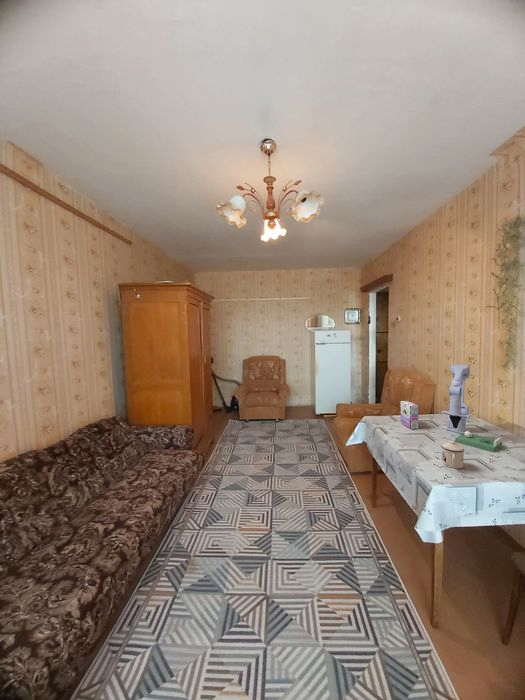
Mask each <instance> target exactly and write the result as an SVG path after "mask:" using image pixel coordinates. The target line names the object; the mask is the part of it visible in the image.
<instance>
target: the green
mask: <svg viewBox="0 0 525 700" xmlns="http://www.w3.org/2000/svg"><path fill="white" fill-rule="evenodd" d="M454 442H455V443H456V444H459V445H460V444H462V445H464V446H469V447H473V448H477V449H480V450H484V451H486V452H487V451H488V452H492V453H495V452H496V451H498V450H500V449H501V447H503V441H502V440H501V437H498V438H496V439H493V438H490V437H485V436H480V435H476V434H472V436H471V437H466V436H465V435H464V433H463V434H462V433H461V434H459V435H458V436H456V437H455V438H454Z"/></svg>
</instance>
